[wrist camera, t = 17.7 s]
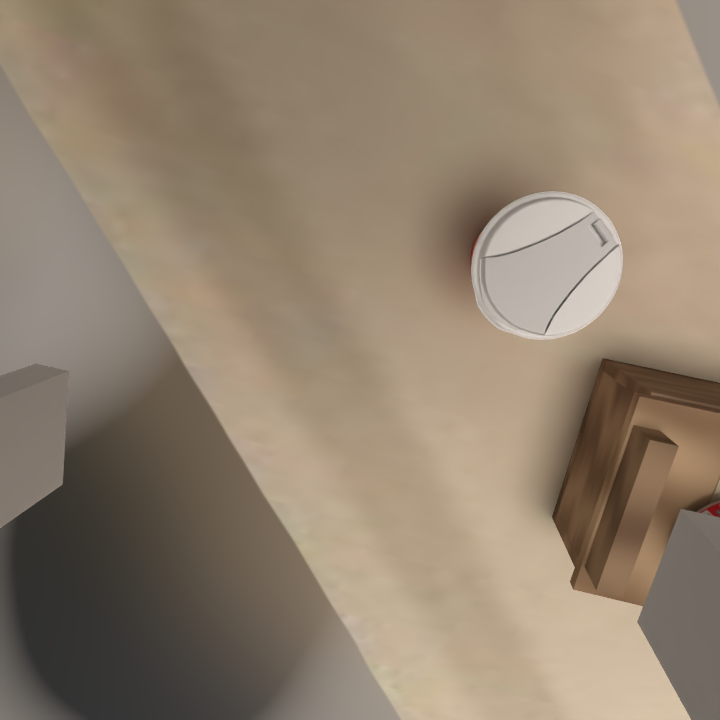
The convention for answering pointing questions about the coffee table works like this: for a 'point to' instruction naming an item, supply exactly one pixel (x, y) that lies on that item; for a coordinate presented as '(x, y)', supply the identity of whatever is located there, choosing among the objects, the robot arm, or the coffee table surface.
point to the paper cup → (546, 265)
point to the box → (614, 437)
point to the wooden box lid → (648, 495)
